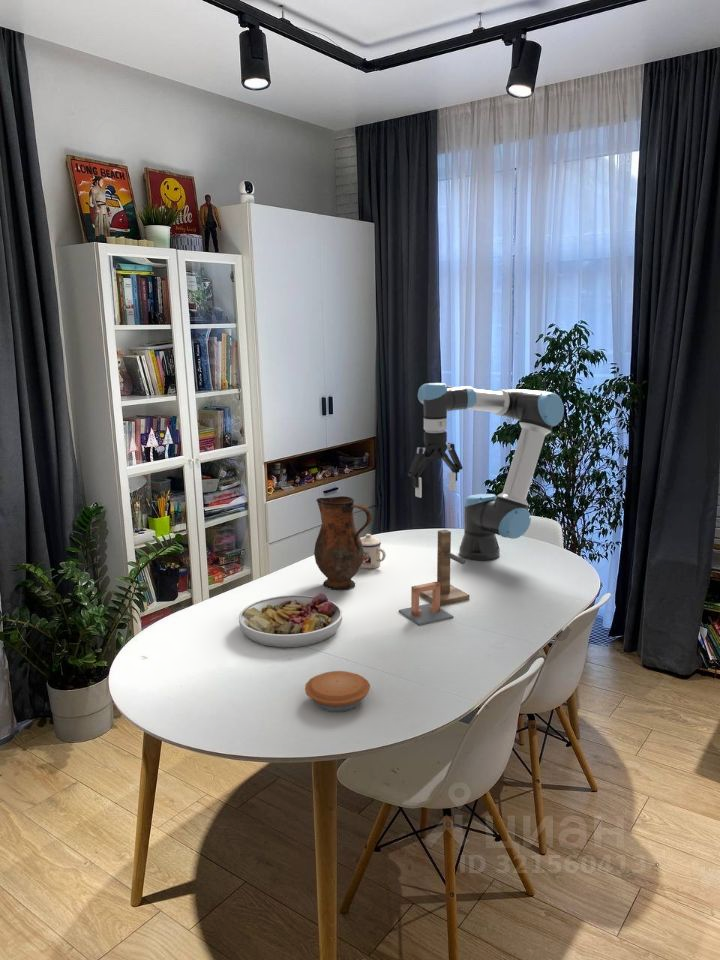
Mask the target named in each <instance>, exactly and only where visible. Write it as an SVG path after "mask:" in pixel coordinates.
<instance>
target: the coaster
mask: <svg viewBox="0 0 720 960" xmlns="http://www.w3.org/2000/svg"><path fill="white" fill-rule="evenodd" d="M430 606H432V602H430V603H425V604H419V609H420V610H422V615H421V616H416V617H414V616H413V615H411V607H406V608H401V609H398V612H399V613H400V614H401V615H403V616H404V617H406V618H407V619H409V620H410V621H412V622H413V623H414V624H417V626H423V625H428V624H432V623H436V622H441V621H446V620H450V619H453V618H454V615H453V614H451V613H450V612H448V611H446V610H444V609H443V608H441V607H440V611H439V612H435V613H433V612H431V611H430Z"/></svg>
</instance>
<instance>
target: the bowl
mask: <svg viewBox="0 0 720 960" xmlns="http://www.w3.org/2000/svg"><path fill="white" fill-rule="evenodd" d="M342 621H343V610H342V608H341V607H340V606H339V605H338V604H337V603H335V602H333V601H332V600H329V599H328V597H327V595H326V594H325V593H321V592H320V593H318V594H317V593H316V594H315V595H313V596H312V595H301V594H300V595H299V594H296V595H295V594H294V595H293V594H291V595H289V594H288V595H280V596H273V597H269V598H265V599H261V600H257V601H255V602H253V603H251V604H249V605H247V606H246V607H244V608H243V609H242V610H241V612H240V613H239V615H238V624H239V628H240V629H241V631H242V633H243V634H244V635H245V636H246V637H247V638H248V639H250V640H251V641H253V642H255V643H258V644H261V645H264V646H266V647H267V646H268V647H273V648H299V647H305V646H310V645H314V644H318V643H320V642H323V641H324V640H327V639H328V638H330V637H331V636H332V635H334V634H335V633H336V632H337V631H338V630H339V628H340V626H341V625H342Z"/></svg>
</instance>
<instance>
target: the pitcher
mask: <svg viewBox="0 0 720 960" xmlns="http://www.w3.org/2000/svg"><path fill="white" fill-rule="evenodd" d="M316 502H317V505H318V509H319V512H320V518H321V519H320V520H321V526H320V530H319V532H318V536H317V538H316V541H315V545H314V549H313V550H314V552H313V555H314V560H315V565H316V566H317V567H318V569H319V571H320V572H321V573H322V574H323V575H324V576H325V577H326V579H325V580H324V581H323V586H324V587H325V588H327V589H329V590H332V591H348V590H351V589H354V588H355V587H356V582H355V581H354V580H352V578H353V577H354V576H356V575H357V573H358V572H359V570H360V566H361V564H362V562H363V556H364V549H363V545H362V541H361V537H360V533H362V531H363V530H365V528H367V527H368V526H369V525H370V524H371V521H372V513H371V511H370V509H369V508H368V507H367V506H365V505H363V504H360V503H358V504H356V503H355V504H354V502H355V499H354V498H352V497H349V496H343V495H341V496H333V497H332V496H331V497H319V498H317V499H316ZM354 508H357V509H360V510H361V511H363V512H364V513H365V515H366V521H365V523H364V524H363V526H362V527H361V528H360V529H358V530H357V527H356V524H355V518H354Z"/></svg>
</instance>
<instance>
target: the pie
mask: <svg viewBox="0 0 720 960" xmlns="http://www.w3.org/2000/svg"><path fill="white" fill-rule="evenodd" d="M370 689H371V684H370V682H369V681H368V680H367V679H366V678H365V677H364V676H362V675H360V674H357V673H355V672H351V671H350V672H349V671H344V670H333V671H327V672H323V673H320V674H318V675H314V676H312V677H311V678H310V679H309V680H308V681H307V682H306V684H305V686H304V691H305V694H306V695H307V696H308V697H309V698H310V699H311V701H312V702H313V704H314V705H315V706H316V707H317V708H318V709H321V710H322V711H326V712H332V713H345V712H349V711H351V710H353V709H356V708H357V707H358V706H360V704H361V703H362V701H363V700H364V698H365V697H366V696H367V694H368V693H369V691H370Z"/></svg>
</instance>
